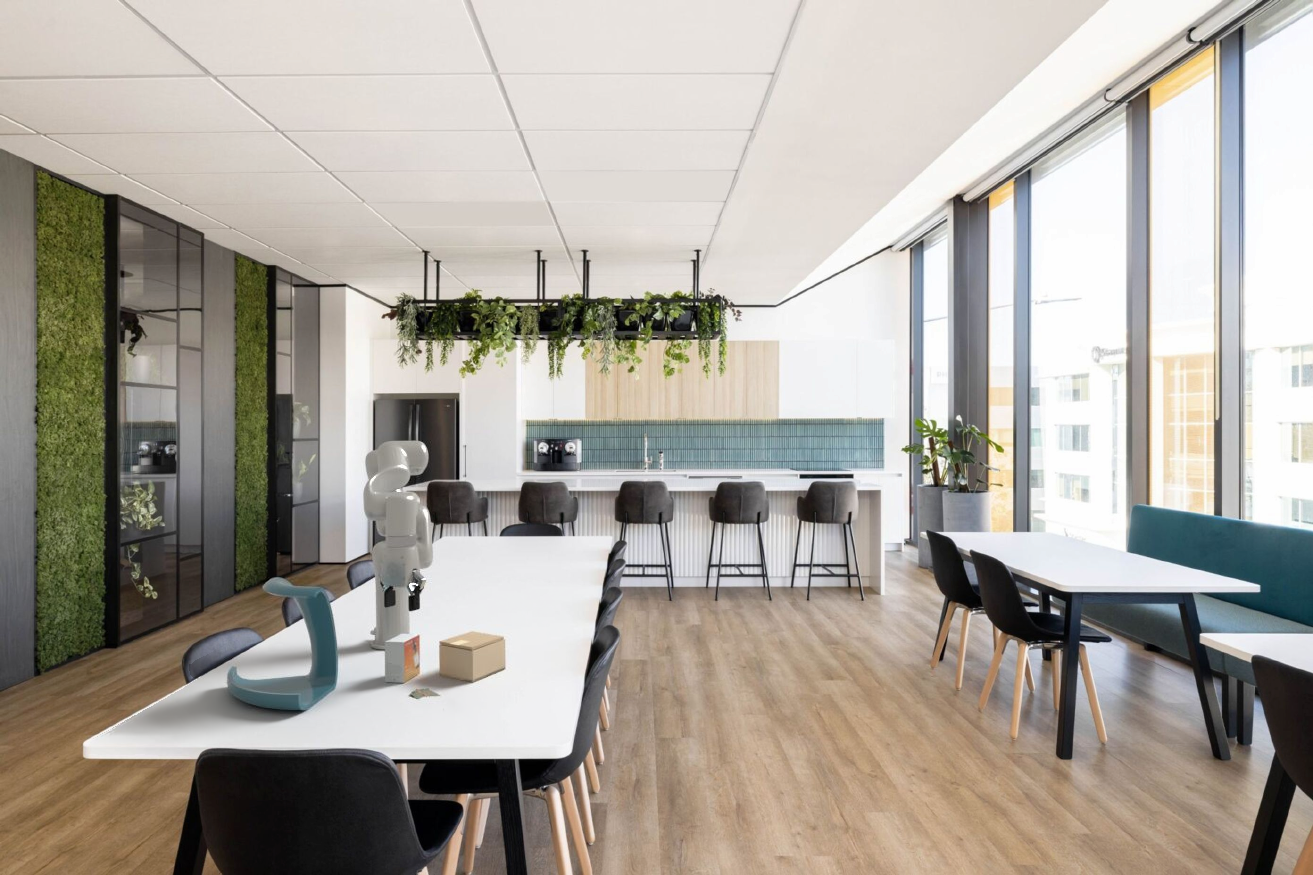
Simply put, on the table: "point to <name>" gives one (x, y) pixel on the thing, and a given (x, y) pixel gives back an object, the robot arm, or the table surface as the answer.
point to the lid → (471, 640)
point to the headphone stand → (324, 656)
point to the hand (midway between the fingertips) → (401, 608)
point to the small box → (402, 658)
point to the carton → (472, 661)
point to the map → (423, 693)
